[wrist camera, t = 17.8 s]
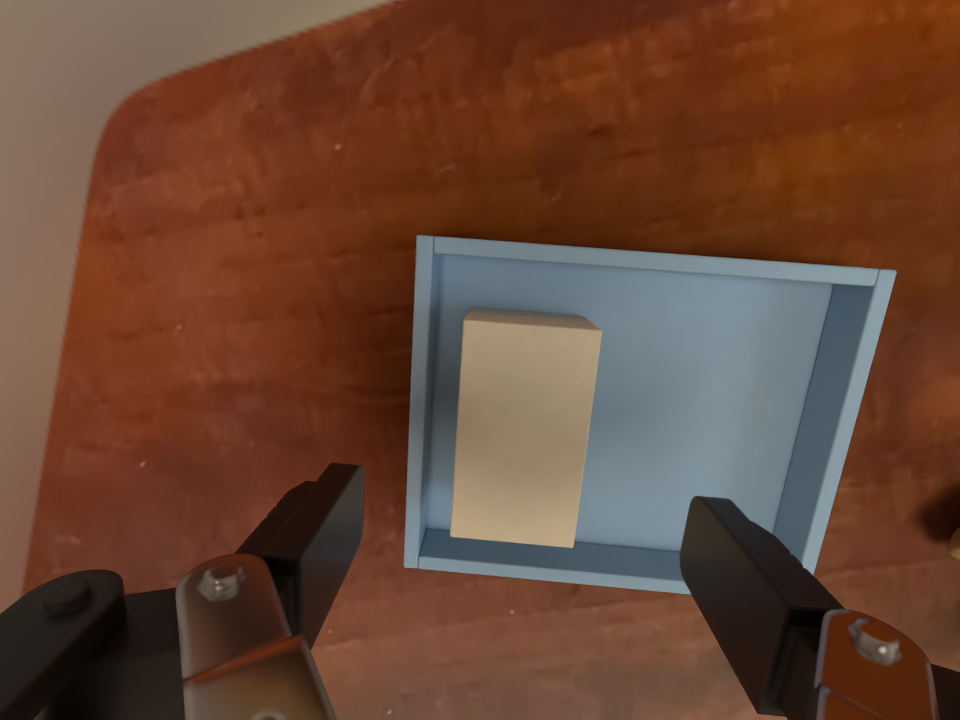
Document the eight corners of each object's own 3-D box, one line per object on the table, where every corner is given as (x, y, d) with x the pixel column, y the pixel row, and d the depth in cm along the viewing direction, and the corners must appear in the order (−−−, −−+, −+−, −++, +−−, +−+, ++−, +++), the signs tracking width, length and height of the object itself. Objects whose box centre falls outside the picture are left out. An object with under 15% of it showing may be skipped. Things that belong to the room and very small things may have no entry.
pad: (458, 489, 20) (449, 537, 17) (470, 307, 18) (463, 319, 15) (561, 498, 20) (573, 548, 17) (584, 315, 18) (602, 330, 15)
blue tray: (414, 532, 21) (402, 567, 19) (427, 237, 18) (416, 234, 16) (770, 564, 21) (805, 605, 18) (844, 267, 18) (898, 270, 15)
